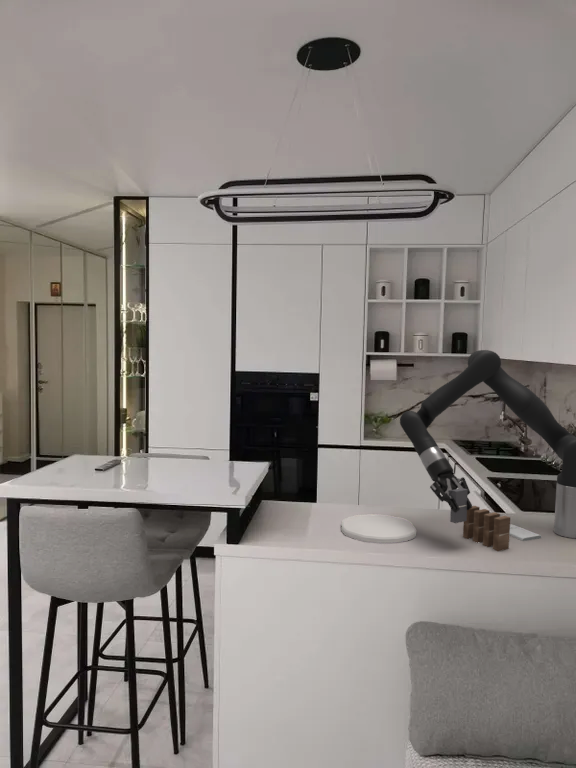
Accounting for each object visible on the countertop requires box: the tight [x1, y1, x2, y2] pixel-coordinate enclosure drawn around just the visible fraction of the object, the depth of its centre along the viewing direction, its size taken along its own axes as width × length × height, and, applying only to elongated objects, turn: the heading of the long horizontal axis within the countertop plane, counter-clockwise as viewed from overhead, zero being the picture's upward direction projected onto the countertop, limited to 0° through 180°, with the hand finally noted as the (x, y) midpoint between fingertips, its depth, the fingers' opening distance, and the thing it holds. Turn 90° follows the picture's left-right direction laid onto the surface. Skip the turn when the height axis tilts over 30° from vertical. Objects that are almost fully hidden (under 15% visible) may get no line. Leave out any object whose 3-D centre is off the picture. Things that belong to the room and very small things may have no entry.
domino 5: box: [492, 515, 511, 552], centre depth 177 cm, size 2×5×10 cm, turn 121°
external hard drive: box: [509, 523, 542, 542], centre depth 192 cm, size 2×8×12 cm
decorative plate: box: [341, 513, 417, 544], centre depth 192 cm, size 25×4×25 cm
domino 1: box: [449, 488, 469, 524], centre depth 176 cm, size 2×5×10 cm, turn 121°
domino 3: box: [472, 508, 491, 544], centre depth 184 cm, size 2×5×10 cm, turn 121°
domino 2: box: [462, 505, 481, 540], centre depth 188 cm, size 2×5×10 cm, turn 121°
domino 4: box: [482, 512, 501, 548], centre depth 181 cm, size 2×5×10 cm, turn 121°
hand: (463, 509), depth 175 cm, fingers closed on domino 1, 5 cm apart
